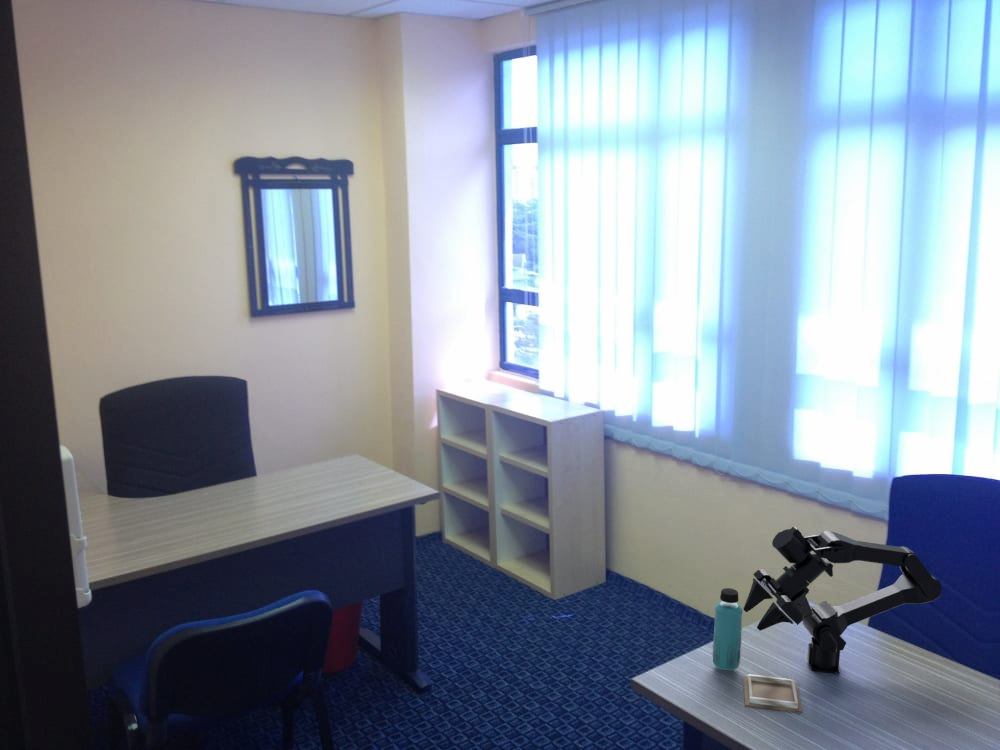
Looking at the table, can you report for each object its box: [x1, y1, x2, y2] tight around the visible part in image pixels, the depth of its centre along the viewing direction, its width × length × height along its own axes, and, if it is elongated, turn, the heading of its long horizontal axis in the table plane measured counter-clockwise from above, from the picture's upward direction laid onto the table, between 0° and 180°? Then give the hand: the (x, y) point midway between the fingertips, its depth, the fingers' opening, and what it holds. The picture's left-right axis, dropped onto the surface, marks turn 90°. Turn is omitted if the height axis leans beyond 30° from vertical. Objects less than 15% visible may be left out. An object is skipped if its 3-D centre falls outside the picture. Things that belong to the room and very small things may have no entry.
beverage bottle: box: [711, 587, 744, 671], centre depth 212 cm, size 6×7×20 cm
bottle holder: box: [742, 673, 803, 714], centre depth 204 cm, size 12×12×2 cm
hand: (751, 619), depth 212 cm, fingers open, 9 cm apart
